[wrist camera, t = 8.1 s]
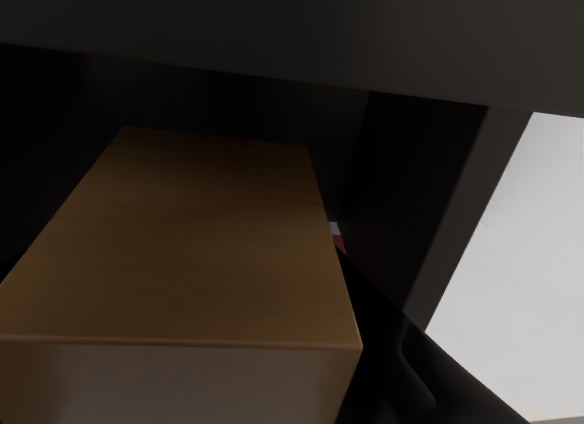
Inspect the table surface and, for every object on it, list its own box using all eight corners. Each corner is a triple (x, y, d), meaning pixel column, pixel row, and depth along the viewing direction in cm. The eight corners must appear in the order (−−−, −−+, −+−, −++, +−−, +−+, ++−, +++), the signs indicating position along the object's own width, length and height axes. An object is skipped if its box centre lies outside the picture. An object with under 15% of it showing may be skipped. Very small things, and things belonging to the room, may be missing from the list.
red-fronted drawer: (333, 323, 19) (369, 492, 13) (91, 315, 18) (5, 503, 12) (476, -155, 10) (847, -341, 4) (-24, -273, 8) (-882, -984, 2)
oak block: (307, 143, 9) (366, 347, 4) (283, 275, 11) (305, 505, 6) (122, 124, 8) (-46, 337, 4) (135, 267, 10) (41, 515, 6)
